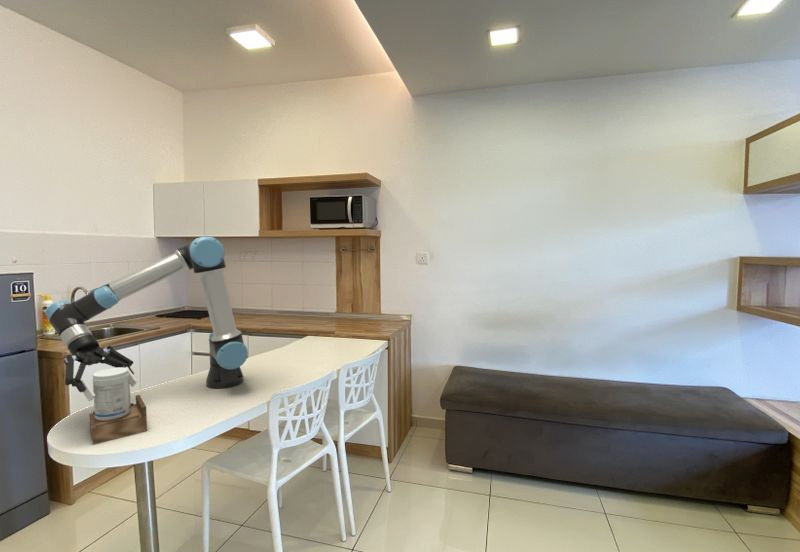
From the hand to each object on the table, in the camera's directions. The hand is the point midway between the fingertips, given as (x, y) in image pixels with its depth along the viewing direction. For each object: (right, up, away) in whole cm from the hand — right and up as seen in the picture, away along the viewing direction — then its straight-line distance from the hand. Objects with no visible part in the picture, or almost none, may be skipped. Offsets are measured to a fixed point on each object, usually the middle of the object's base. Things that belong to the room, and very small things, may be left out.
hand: (114, 390), depth 127 cm
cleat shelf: (0, -13, +2) cm, 13 cm away
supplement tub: (-1, -9, +1) cm, 9 cm away
